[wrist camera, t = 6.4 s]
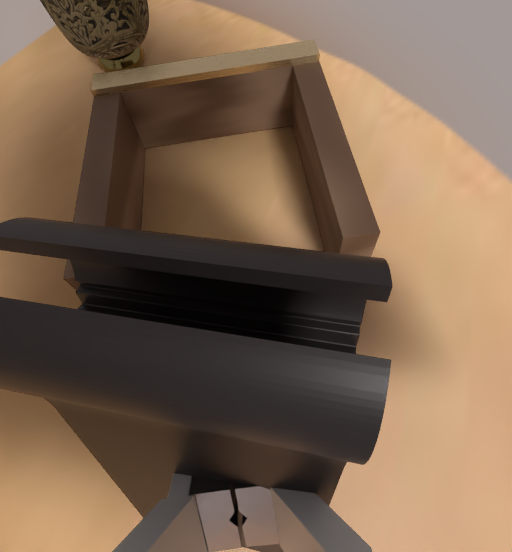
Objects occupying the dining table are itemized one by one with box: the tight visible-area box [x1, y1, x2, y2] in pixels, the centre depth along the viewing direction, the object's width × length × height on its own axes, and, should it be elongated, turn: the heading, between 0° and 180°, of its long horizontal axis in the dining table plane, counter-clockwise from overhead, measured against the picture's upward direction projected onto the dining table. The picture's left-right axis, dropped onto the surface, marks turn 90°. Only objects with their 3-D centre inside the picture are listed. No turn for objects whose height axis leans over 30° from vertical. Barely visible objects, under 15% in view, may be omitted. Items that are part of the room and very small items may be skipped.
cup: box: [40, 0, 149, 73], centre depth 25 cm, size 8×7×8 cm
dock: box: [64, 40, 380, 290], centre depth 19 cm, size 13×14×4 cm
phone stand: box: [0, 218, 392, 552], centre depth 10 cm, size 9×6×12 cm, turn 169°
